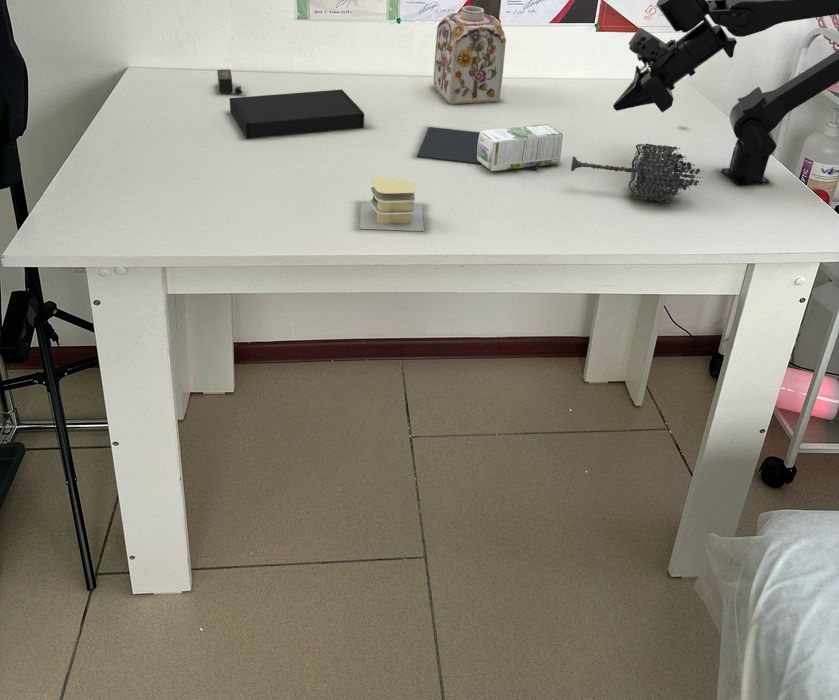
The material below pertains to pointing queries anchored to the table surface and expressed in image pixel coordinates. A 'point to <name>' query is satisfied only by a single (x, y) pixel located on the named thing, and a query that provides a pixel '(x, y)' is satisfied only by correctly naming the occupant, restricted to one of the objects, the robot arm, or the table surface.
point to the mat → (452, 146)
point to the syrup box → (519, 147)
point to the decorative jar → (469, 57)
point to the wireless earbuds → (226, 82)
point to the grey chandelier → (654, 172)
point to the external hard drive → (295, 113)
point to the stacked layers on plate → (392, 207)
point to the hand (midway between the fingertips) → (614, 108)
